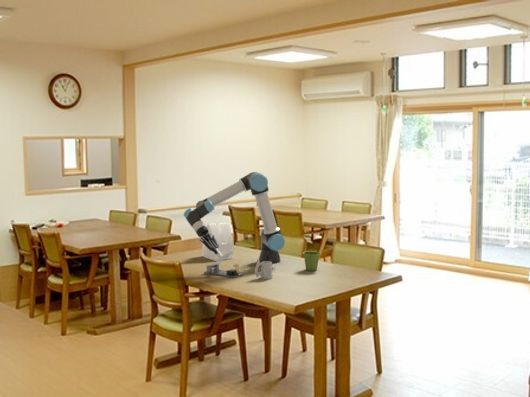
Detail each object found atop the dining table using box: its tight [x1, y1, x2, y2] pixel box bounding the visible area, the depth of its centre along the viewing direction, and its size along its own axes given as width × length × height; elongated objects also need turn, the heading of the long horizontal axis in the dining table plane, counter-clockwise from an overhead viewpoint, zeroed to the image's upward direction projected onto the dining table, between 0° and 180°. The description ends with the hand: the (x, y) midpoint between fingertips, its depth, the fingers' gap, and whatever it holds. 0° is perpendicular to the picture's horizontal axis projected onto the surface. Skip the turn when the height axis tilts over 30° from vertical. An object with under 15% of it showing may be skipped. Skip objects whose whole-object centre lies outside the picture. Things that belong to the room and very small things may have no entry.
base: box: [203, 263, 245, 279], centre depth 386 cm, size 24×10×7 cm, turn 57°
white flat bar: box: [210, 251, 232, 269], centre depth 387 cm, size 18×5×2 cm
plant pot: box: [302, 250, 322, 272], centre depth 399 cm, size 12×12×11 cm
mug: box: [254, 259, 274, 280], centre depth 375 cm, size 8×12×12 cm, turn 116°
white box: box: [201, 221, 235, 262], centre depth 439 cm, size 19×15×25 cm
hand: (221, 257), depth 386 cm, fingers closed
